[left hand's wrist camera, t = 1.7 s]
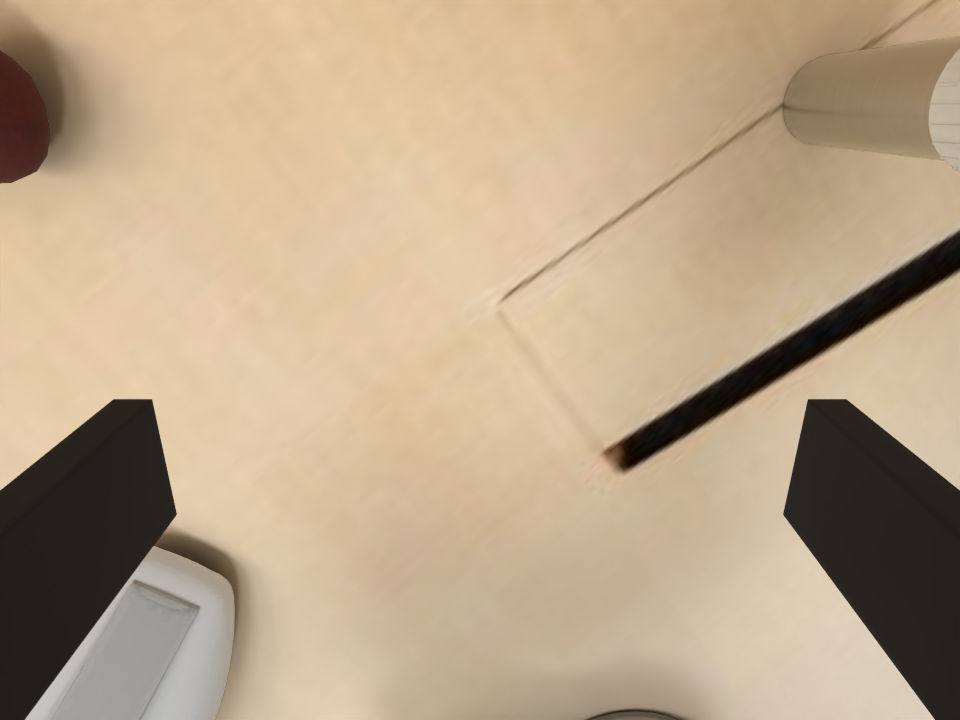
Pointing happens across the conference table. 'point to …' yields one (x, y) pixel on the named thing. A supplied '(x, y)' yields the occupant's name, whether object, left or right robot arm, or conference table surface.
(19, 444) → the conference table surface
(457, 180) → the conference table surface
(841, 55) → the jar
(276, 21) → the conference table surface
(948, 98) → the lid
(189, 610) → the projector
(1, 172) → the dark maroon ball
